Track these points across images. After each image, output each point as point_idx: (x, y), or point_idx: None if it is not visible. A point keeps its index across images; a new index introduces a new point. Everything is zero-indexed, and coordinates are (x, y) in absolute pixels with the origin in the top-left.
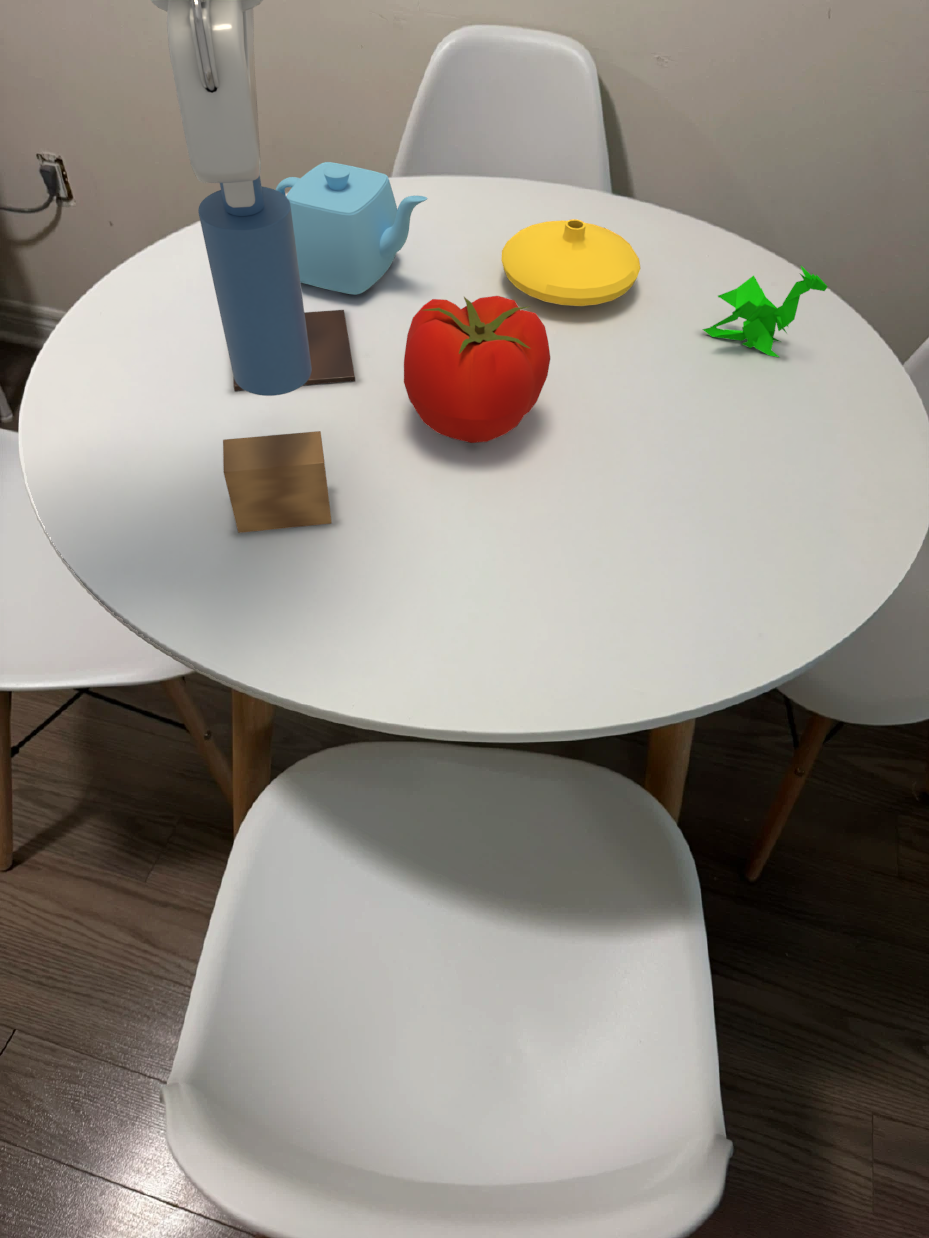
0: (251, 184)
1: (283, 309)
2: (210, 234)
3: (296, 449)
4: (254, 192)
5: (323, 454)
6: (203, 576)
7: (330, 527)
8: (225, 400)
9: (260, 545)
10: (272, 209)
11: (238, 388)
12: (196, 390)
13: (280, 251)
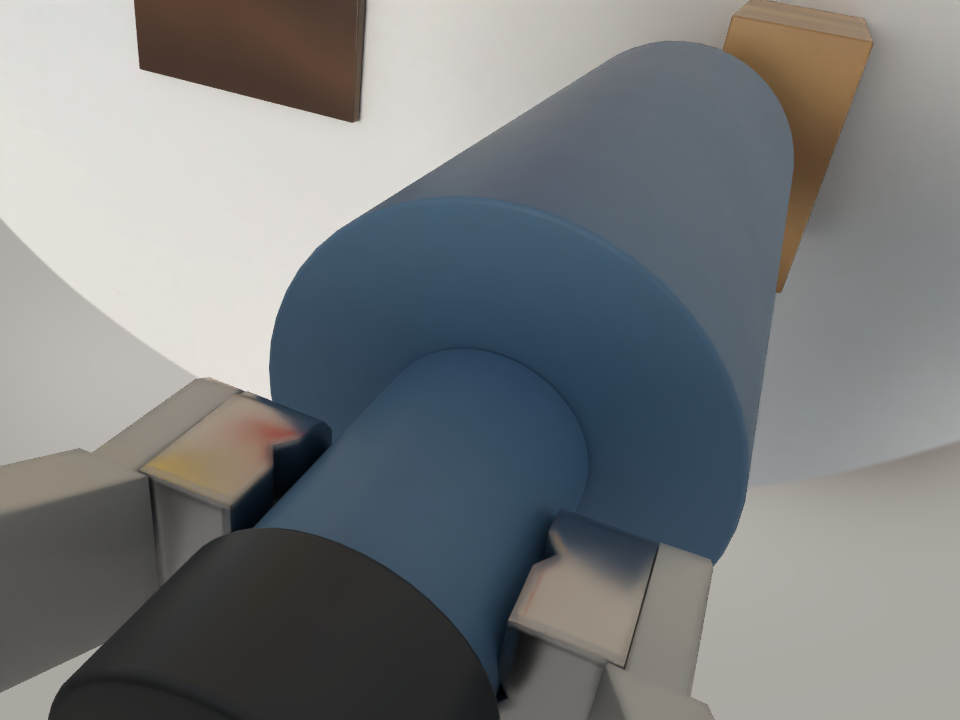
0: (690, 657)
1: (773, 215)
2: None
3: (780, 103)
4: (606, 535)
5: (792, 22)
6: (877, 322)
7: (875, 25)
8: (382, 145)
9: (848, 196)
10: (556, 327)
11: (356, 112)
12: (343, 192)
13: (738, 284)
